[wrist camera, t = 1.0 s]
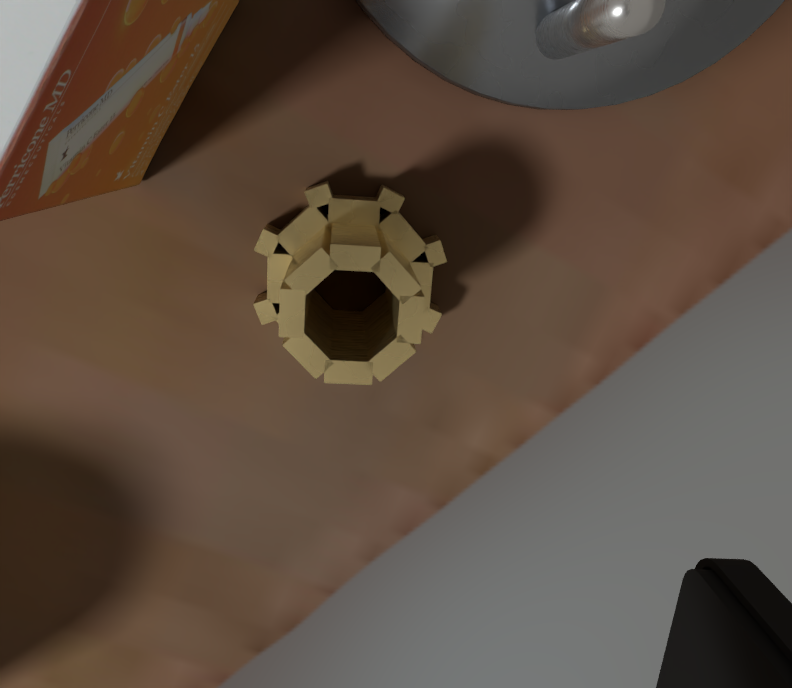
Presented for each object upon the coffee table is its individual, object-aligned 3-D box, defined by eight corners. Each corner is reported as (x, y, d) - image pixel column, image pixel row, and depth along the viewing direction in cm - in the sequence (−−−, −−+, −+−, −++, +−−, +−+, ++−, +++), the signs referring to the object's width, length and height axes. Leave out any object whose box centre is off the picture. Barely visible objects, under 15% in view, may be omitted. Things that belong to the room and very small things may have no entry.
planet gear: (259, 175, 27) (233, 190, 20) (448, 189, 27) (478, 207, 21) (257, 356, 29) (233, 419, 23) (431, 364, 30) (454, 427, 23)
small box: (141, 188, 26) (-36, 242, 14) (-17, 90, 25) (-368, 56, 13) (247, -3, 25) (152, -132, 12) (84, -120, 23) (-210, -397, 11)
